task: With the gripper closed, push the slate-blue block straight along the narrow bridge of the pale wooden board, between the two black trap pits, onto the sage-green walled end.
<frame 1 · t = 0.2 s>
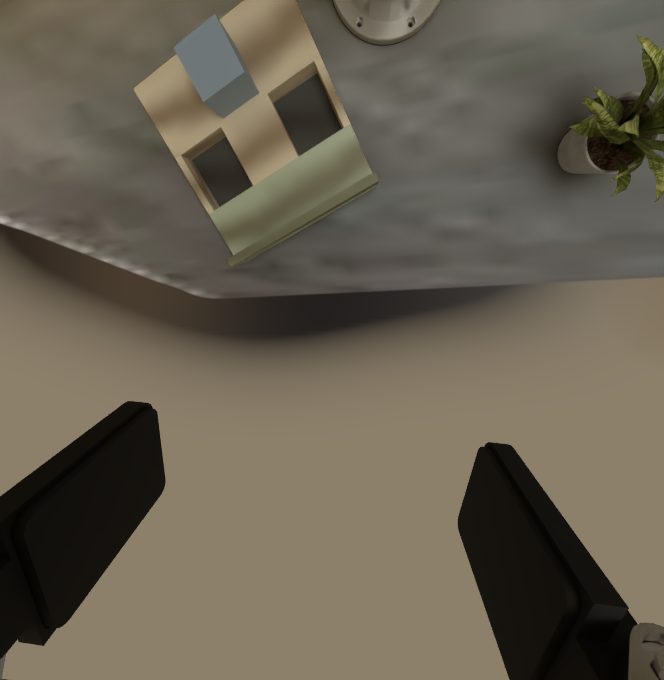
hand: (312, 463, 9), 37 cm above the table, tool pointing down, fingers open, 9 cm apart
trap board: (264, 144, 39), on the table
house plant: (587, 137, 37), on the table
block: (228, 82, 35), point 3 cm above the table, touching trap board
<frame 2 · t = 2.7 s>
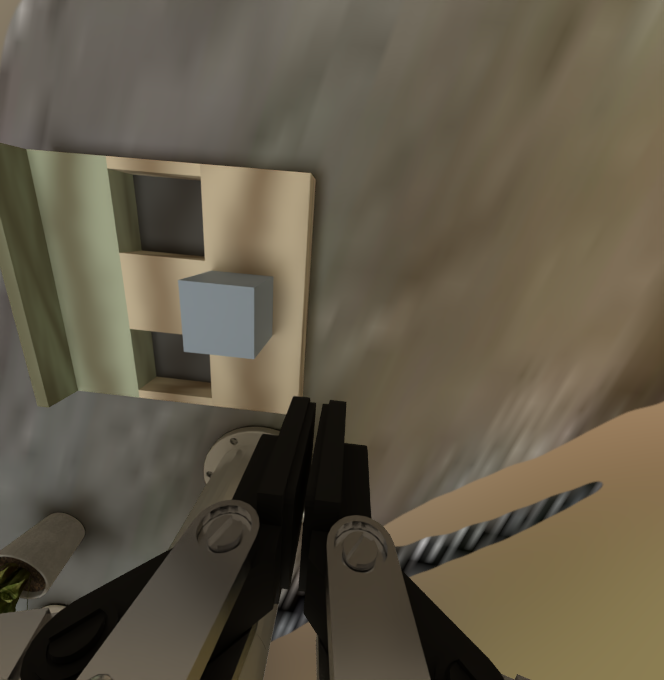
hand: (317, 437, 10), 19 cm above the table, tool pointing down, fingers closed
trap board: (189, 290, 29), on the table
house plant: (74, 533, 41), on the table
block: (242, 304, 26), point 3 cm above the table, touching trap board
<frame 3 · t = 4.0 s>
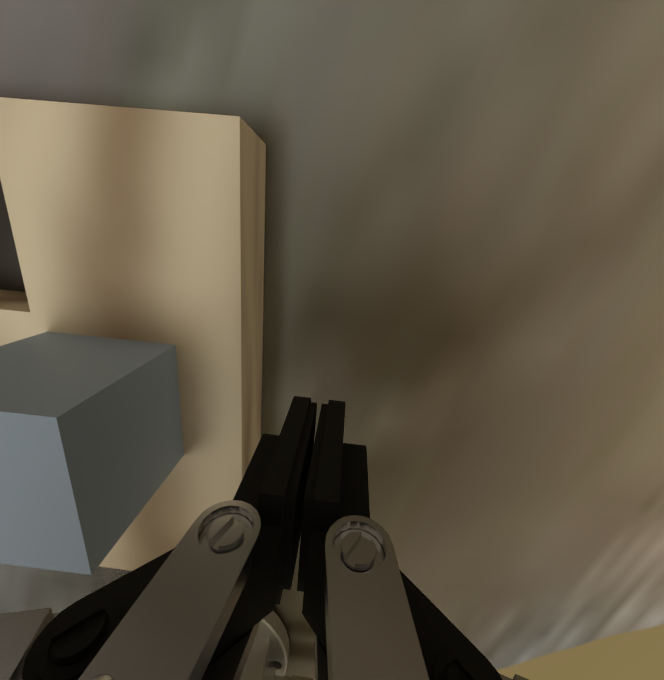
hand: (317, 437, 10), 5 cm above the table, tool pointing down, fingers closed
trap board: (45, 354, 16), on the table
block: (119, 396, 13), point 3 cm above the table, touching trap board
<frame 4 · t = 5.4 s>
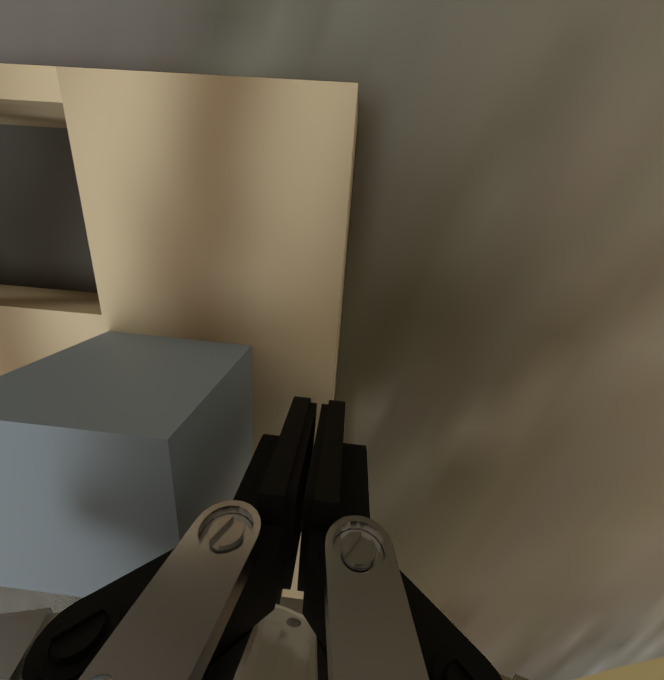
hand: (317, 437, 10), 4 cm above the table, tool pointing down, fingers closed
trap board: (101, 358, 15), on the table
block: (185, 402, 11), point 3 cm above the table, touching gripper
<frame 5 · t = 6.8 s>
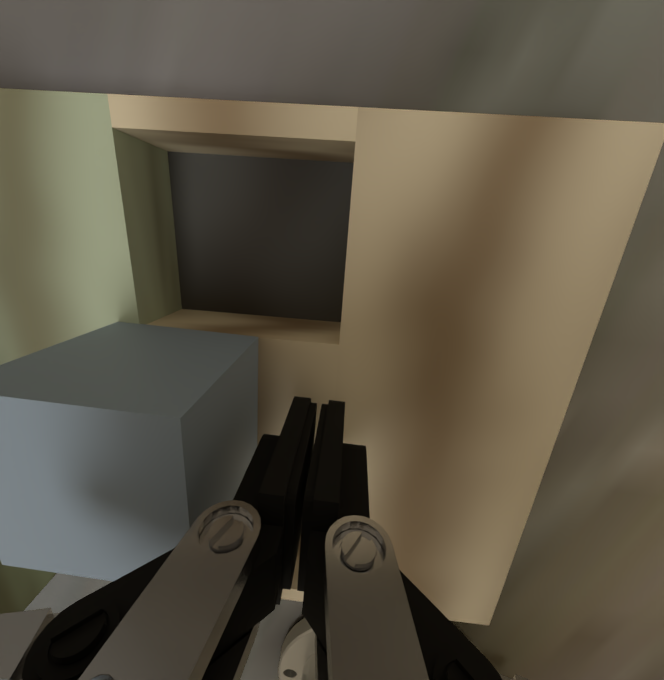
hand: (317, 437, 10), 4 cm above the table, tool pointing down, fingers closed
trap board: (273, 381, 15), on the table
block: (191, 392, 12), point 3 cm above the table, touching gripper, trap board
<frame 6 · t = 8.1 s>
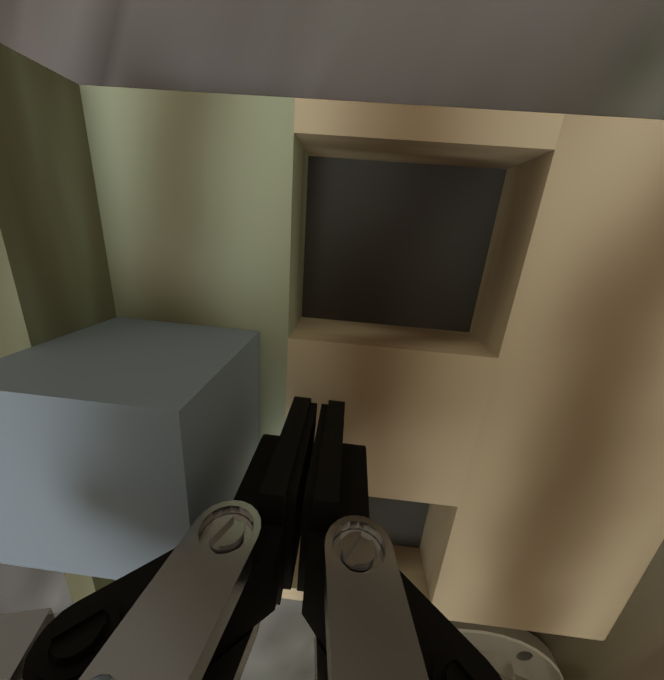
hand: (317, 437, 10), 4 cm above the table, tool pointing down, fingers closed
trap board: (385, 391, 14), on the table
block: (192, 388, 12), point 3 cm above the table, touching gripper, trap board
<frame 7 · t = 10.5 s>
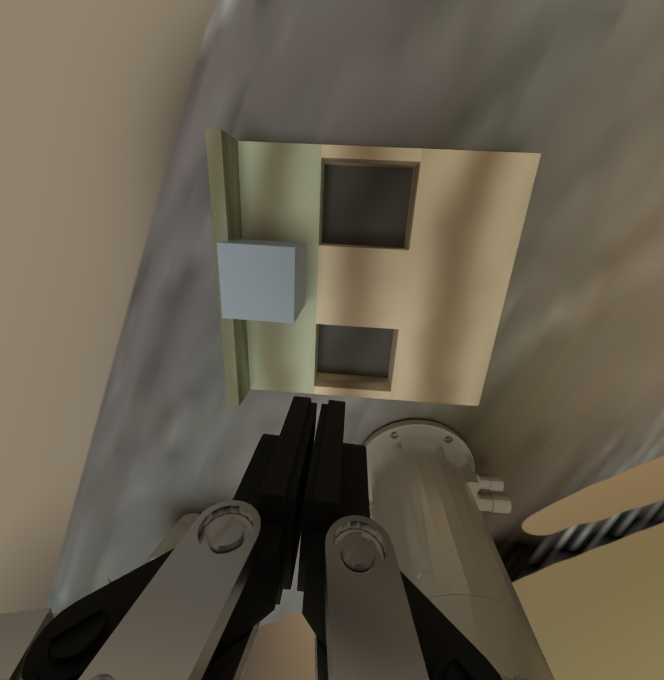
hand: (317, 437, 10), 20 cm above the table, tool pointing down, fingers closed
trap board: (365, 282, 28), on the table
house plant: (205, 533, 41), on the table
block: (274, 273, 25), point 3 cm above the table, touching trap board
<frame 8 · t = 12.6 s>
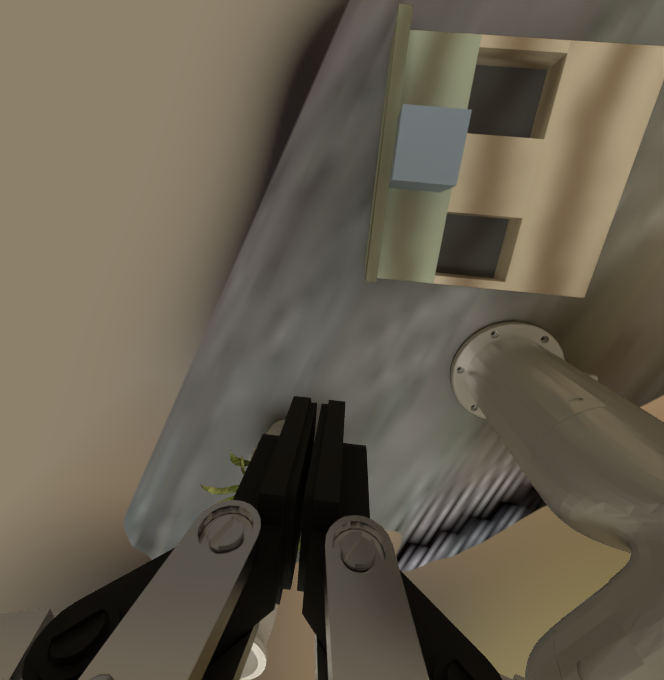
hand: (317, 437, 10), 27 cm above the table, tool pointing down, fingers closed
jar: (258, 535, 50), on the table
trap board: (486, 182, 31), on the table
house plant: (293, 441, 44), on the table
block: (418, 159, 28), point 3 cm above the table, touching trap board
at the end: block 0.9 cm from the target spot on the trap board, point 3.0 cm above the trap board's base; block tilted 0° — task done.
